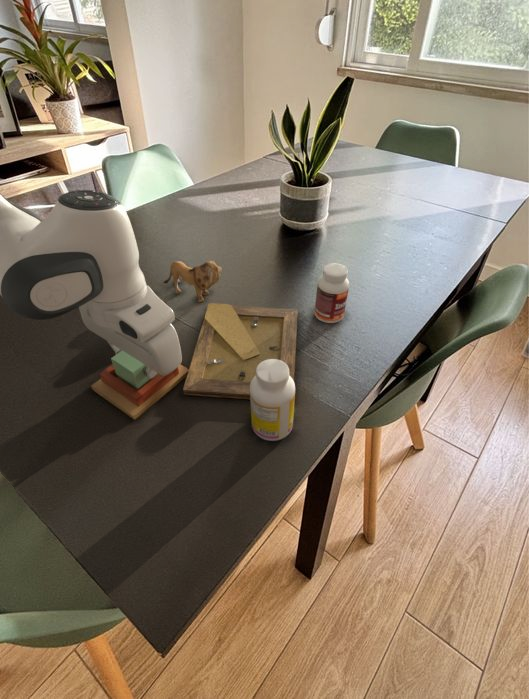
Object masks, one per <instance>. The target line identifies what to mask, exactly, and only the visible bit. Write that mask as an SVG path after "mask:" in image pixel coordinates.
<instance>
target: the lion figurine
mask: <svg viewBox="0 0 529 699" xmlns="http://www.w3.org/2000/svg"><path fill="white" fill-rule="evenodd" d="M221 273H222V266H218V265H217V264H216V263H215V261H214V260H213V261H212V260H207V261H205V262H204V263H202V264H200V265H198V266H194V267H190V266H187V265H186V264H185V263H184V262H183V261H180V260H179V261H172V263H171V264H170V270H169V276H168V278H167V279H165V280H164V281H163V284H168V283H169V282H170V281H171V280H172V278H173V287H174V291H175V293H176V294H178V295H180V294H181V293H182V290H181V289H180V288H179V285H178V284H180V283H181V280H180V279H179V278H181V279H182V281H183V282H184V283H186V284H188V285H190V286H192V287H194V289H195V293H196V298H197V301H198V302H199V303H202V302H204V301H205V298H204V297H203V295H204V296H208V295H209V291H208V290H209V289H210V288H211V287H212V286H214V285H215V284H217V283H218V282H219V280H220V278H221Z"/></svg>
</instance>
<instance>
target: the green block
mask: <svg viewBox="0 0 529 699" xmlns="http://www.w3.org/2000/svg"><path fill="white" fill-rule="evenodd" d="M110 360H111V363H112V364H113V366H114V369H115V372H116V375H118V376H119V377H121V378H122V379H124V380H125V381H127V382H128V383H130V384H131V385H133V386H134V387H136V388H137V389H139V388H140V387H141V386H142V385H144V384H145V383H146V382H148V381H149V380H150V378H148V377H147V376H145V375H144V372H143V368H144V367H145V365H144V364H143V363H141V362H140V361H138V360H137V359H135V358H134V357H132V356H130V355H129V354H127V353H126V352H124V351H121V352H119V353H118V354H116V353H115V355H114V356H112V357H111V358H110ZM157 374H158V373H157Z"/></svg>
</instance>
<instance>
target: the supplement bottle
mask: <svg viewBox="0 0 529 699" xmlns="http://www.w3.org/2000/svg"><path fill="white" fill-rule="evenodd" d="M295 399H296V383H295V380H294V381H293V379H292V378H291V377H290V376H289V368H288V366H287V365H286V364H285V363H284V362H282V361H280V360H277V359H268V360H265V361H263V362H261V363H260V364H259V365H258V366H257V369H256V376H255V377H254V378H253V379H252V381H251V384H250V399H249V400H250V415H251V416H250V418H251V419H250V420H251V421H250V422H251V427H252V431H253V432H254V433H255V435H256V436H258V437H259V438H260V439H262V440H264V441H268V442H269V441H270V442H276V441H281V440H283V439H284V438H286V437H287V436H288V435H290V433H291V431H292V429H293V427H294V416H295Z"/></svg>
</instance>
